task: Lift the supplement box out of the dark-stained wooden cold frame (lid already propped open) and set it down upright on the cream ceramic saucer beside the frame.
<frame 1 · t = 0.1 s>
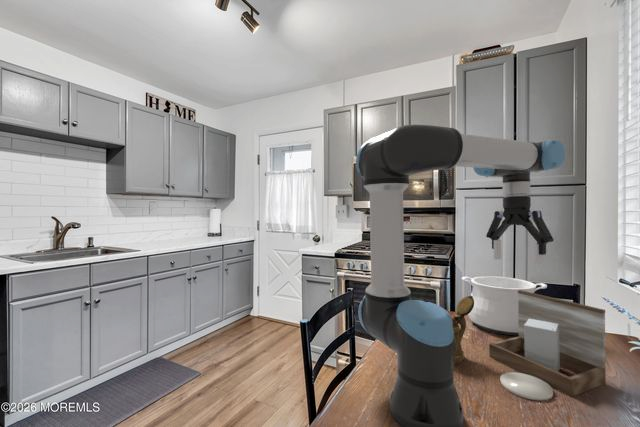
hand: (517, 262, 98), 28 cm above the table, fingers open, 13 cm apart
supplement box: (542, 369, 85), resting in cold frame
cold frame: (542, 368, 85), on the table
pot: (502, 326, 118), on the table
wooden mug: (454, 356, 94), on the table
saucer: (525, 387, 77), on the table
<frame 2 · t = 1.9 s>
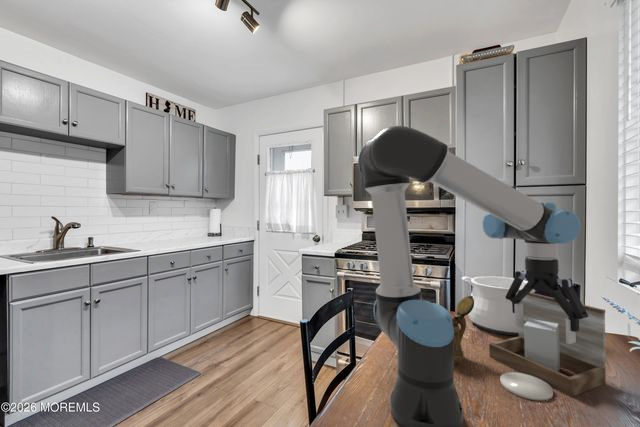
hand: (543, 333, 85), 10 cm above the table, fingers open, 13 cm apart
nothing on the table moved.
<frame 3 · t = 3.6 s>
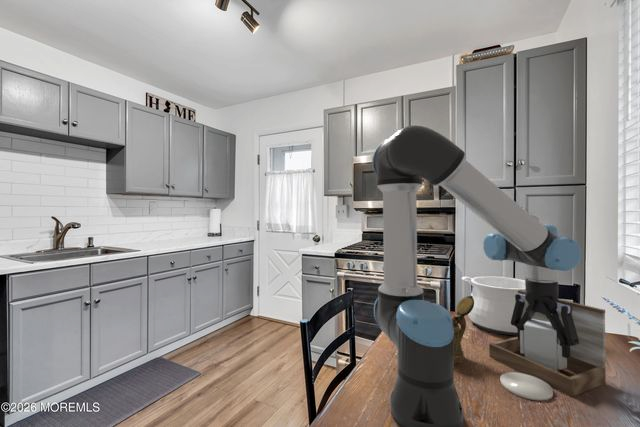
hand: (542, 359, 85), 3 cm above the table, fingers closed on supplement box, 9 cm apart
supplement box: (542, 369, 85), resting in cold frame, touching gripper
everything else where it was.
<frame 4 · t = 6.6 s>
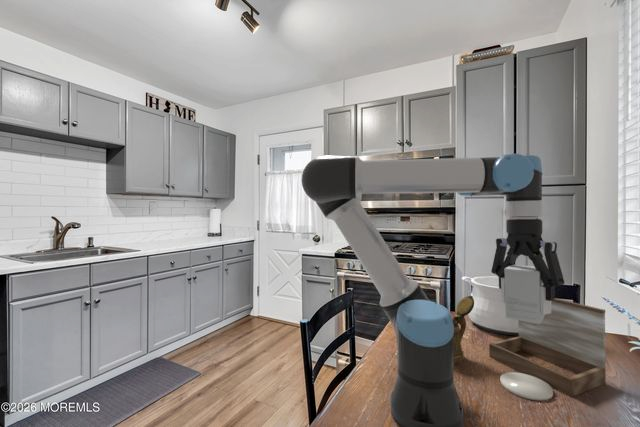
hand: (524, 307, 77), 20 cm above the table, fingers closed on supplement box, 9 cm apart
supplement box: (524, 318, 77), point 17 cm above the table, touching gripper
everything else where it was.
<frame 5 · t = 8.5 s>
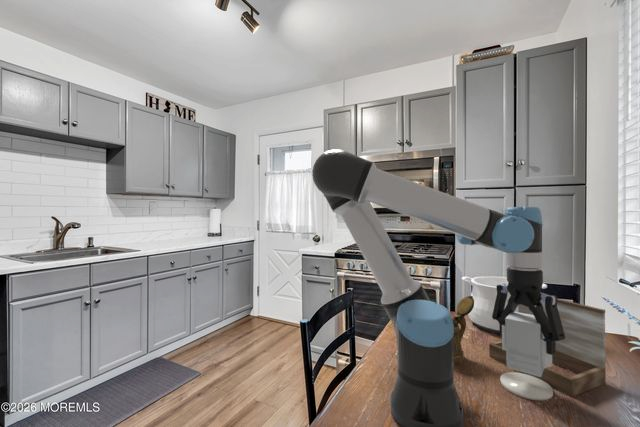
hand: (525, 357, 77), 8 cm above the table, fingers closed on supplement box, 9 cm apart
supplement box: (525, 367, 77), point 5 cm above the table, touching gripper
everything else where it was.
when the fingers open (5 cm above the table, at t = 10.1 s): supplement box drops 1 cm, resting on saucer.
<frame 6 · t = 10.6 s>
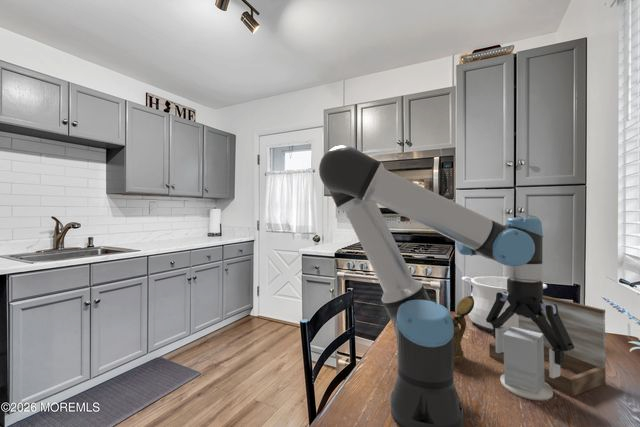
hand: (525, 363, 77), 6 cm above the table, fingers open, 13 cm apart
supplement box: (524, 384, 77), point 1 cm above the table, touching saucer
everything else where it was.
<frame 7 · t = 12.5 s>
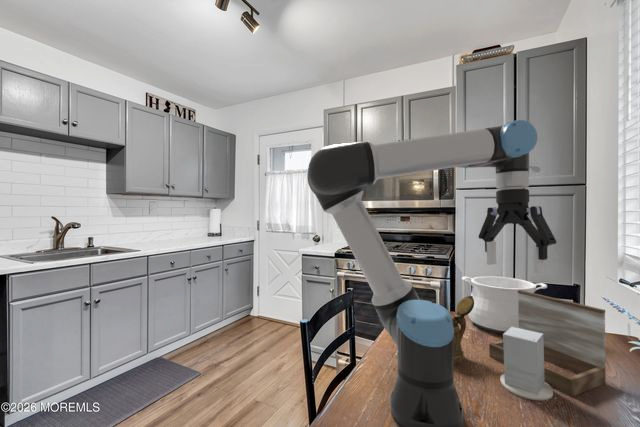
hand: (513, 268, 82), 29 cm above the table, fingers open, 13 cm apart
nothing on the table moved.
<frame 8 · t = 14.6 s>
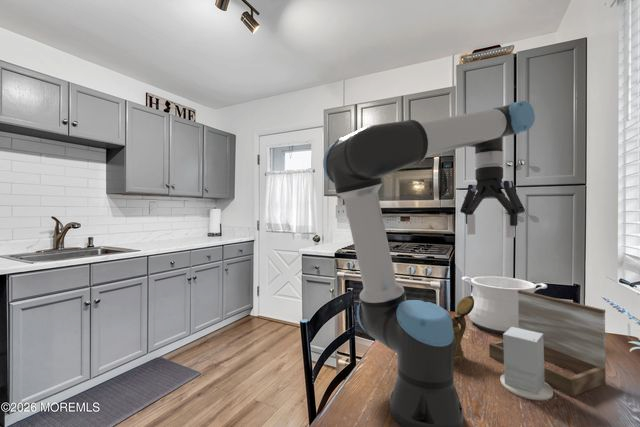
hand: (489, 235, 94), 37 cm above the table, fingers open, 13 cm apart
nothing on the table moved.
at the end: supplement box 0.3 cm from the saucer (horizontally); supplement box point 0.6 cm above the table; supplement box tilted 0° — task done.
